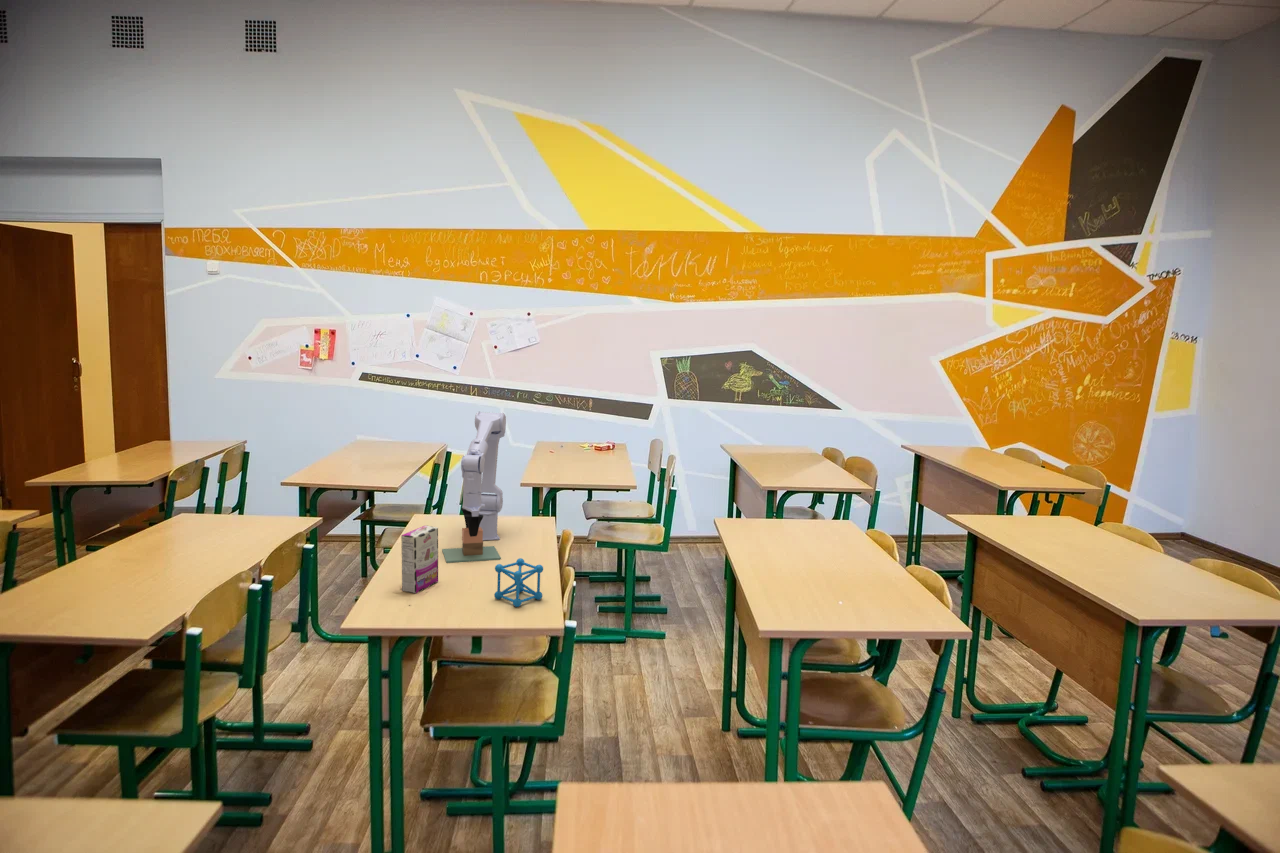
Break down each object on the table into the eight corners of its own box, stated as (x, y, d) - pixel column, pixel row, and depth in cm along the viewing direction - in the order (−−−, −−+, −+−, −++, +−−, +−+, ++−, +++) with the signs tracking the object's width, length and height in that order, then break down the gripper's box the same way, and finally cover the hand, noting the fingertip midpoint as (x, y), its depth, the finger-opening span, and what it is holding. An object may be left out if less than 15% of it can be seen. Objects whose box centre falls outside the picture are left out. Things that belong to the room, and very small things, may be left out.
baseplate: (442, 550, 250) (442, 549, 250) (494, 547, 256) (494, 545, 256) (446, 563, 238) (446, 561, 238) (501, 559, 244) (501, 557, 244)
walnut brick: (462, 551, 248) (462, 540, 247) (480, 550, 250) (481, 539, 249) (463, 555, 244) (464, 543, 244) (482, 554, 246) (483, 542, 246)
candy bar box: (424, 579, 223) (424, 524, 220) (438, 581, 221) (439, 527, 219) (400, 591, 212) (400, 534, 210) (415, 594, 211) (416, 536, 208)
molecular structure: (519, 590, 217) (520, 556, 216) (544, 599, 211) (545, 564, 210) (492, 599, 210) (493, 564, 208) (516, 609, 204) (517, 572, 202)
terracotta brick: (462, 540, 247) (462, 528, 247) (480, 539, 249) (480, 527, 249) (463, 543, 244) (463, 531, 243) (482, 542, 246) (482, 530, 245)
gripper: (488, 496, 239) (487, 538, 241) (481, 486, 252) (480, 526, 254) (465, 497, 236) (465, 539, 238) (459, 486, 250) (459, 527, 252)
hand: (471, 532), depth 246 cm, fingers open, 7 cm apart
